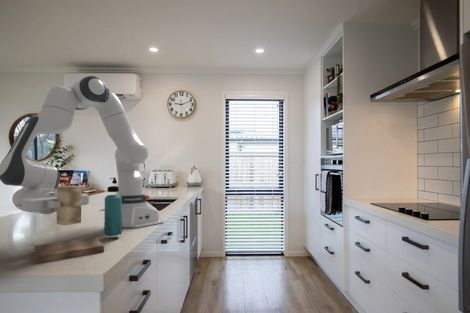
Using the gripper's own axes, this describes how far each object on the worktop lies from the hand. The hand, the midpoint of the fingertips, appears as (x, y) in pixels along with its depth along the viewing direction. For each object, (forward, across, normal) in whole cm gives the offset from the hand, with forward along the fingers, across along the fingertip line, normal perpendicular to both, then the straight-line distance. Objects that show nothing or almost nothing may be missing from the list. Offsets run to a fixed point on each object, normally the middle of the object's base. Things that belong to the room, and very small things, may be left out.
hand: (71, 203), depth 92 cm
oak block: (-1, 0, +6) cm, 7 cm away
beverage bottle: (-3, +19, +16) cm, 25 cm away
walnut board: (-1, 0, +16) cm, 16 cm away
